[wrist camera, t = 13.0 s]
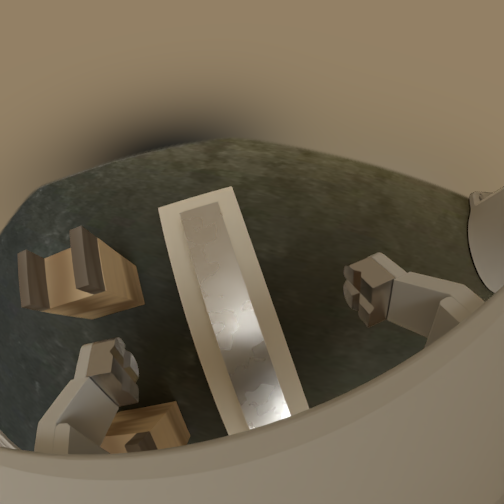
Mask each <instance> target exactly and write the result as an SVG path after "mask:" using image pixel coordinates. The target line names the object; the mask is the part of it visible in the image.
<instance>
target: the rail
mask: <svg viewBox="0 0 504 504" xmlns="http://www.w3.org/2000/svg"><path fill="white" fill-rule="evenodd" d="M180 216H181V220H182V224H183V228H184V232H185V236H186V239H187V243H188V247H189V250H190V254H191V258H192V261H193V265H194V268H195V272H196V275H197V279H198V282H199V285H200V289H201V292H202V295H203V299H204V302H205V305H206V308H207V311H208V315H209V318H210V321H211V324H212V327H213V330H214V333H215V336H216V339H217V342H218V345H219V348H220V351H221V354H222V357H223V360H224V362H225V365H226V368H227V371H228V374H229V376H230V379H231V382H232V385H233V387H234V390H235V393H236V395H237V398H238V401H239V403H240V406H241V409H242V411H243V414H244V416H245V419H246V421H247V424H248V426H249V429H254V428H257V427H260V426H263V425H266V424H269V423H272V422H275V421H278V420H281V419H284V418H287V417H289V416H291V415H290V412H289V409H288V407H287V404H286V401H285V398H284V395H283V393H282V390H281V387H280V384H279V381H278V379H277V376H276V373H275V370H274V367H273V364H272V362H271V359H270V356H269V353H268V350H267V347H266V344H265V342H264V339H263V336H262V333H261V330H260V327H259V324H258V321H257V318H256V315H255V312H254V309H253V307H252V304H251V301H250V298H249V295H248V292H247V289H246V286H245V283H244V280H243V277H242V274H241V271H240V268H239V265H238V262H237V259H236V256H235V253H234V250H233V247H232V244H231V241H230V237H229V234H228V231H227V228H226V225H225V222H224V219H223V216H222V213H221V210H220V207H219V203H218V202H214V203H211V204H207V205H204V206H201V207H197V208H194V209H191V210H187V211H184V212H181V213H180Z"/></svg>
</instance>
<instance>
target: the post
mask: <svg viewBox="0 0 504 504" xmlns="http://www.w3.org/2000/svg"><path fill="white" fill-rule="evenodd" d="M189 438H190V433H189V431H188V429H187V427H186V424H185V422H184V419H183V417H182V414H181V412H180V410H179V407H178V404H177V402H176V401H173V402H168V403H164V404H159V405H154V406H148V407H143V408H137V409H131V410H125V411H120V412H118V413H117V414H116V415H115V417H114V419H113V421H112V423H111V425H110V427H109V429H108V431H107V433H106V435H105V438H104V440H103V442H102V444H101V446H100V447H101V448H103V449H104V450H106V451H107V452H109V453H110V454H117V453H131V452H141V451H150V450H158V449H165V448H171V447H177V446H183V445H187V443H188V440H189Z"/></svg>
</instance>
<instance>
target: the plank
mask: <svg viewBox="0 0 504 504" xmlns="http://www.w3.org/2000/svg"><path fill="white" fill-rule="evenodd" d="M214 202H218V203H219V207H220V210H221V213H222V216H223V219H224V222H225V225H226V228H227V231H228V234H229V237H230V241H231V244H232V247H233V250H234V253H235V256H236V259H237V262H238V265H239V268H240V271H241V274H242V277H243V280H244V283H245V286H246V289H247V292H248V295H249V298H250V301H251V304H252V307H253V309H254V312H255V315H256V318H257V321H258V324H259V327H260V330H261V333H262V336H263V339H264V342H265V344H266V347H267V350H268V353H269V356H270V359H271V362H272V364H273V367H274V370H275V373H276V376H277V379H278V381H279V384H280V387H281V390H282V393H283V395H284V398H285V401H286V404H287V407H288V409H289V412H290V415H291V416H292V415H295V414H297V413H300V412H303V411H305V410H308V409H309V407H308V404H307V401H306V398H305V395H304V392H303V389H302V386H301V383H300V380H299V378H298V375H297V372H296V369H295V366H294V363H293V360H292V357H291V354H290V352H289V349H288V346H287V343H286V340H285V337H284V334H283V331H282V329H281V326H280V323H279V320H278V317H277V314H276V311H275V308H274V306H273V303H272V300H271V297H270V294H269V291H268V288H267V285H266V283H265V280H264V277H263V274H262V271H261V268H260V265H259V263H258V260H257V257H256V254H255V251H254V248H253V245H252V243H251V240H250V237H249V234H248V231H247V228H246V225H245V223H244V220H243V217H242V214H241V211H240V208H239V205H238V203H237V200H236V197H235V194H234V191H233V188H232V186H231V187H227V188H223V189H220V190H216V191H213V192H209V193H206V194H202V195H199V196H195V197H192V198H189V199H185V200H182V201H179V202H175V203H172V204H169V205H166V206H163V207H160V208H158V210H159V215H160V220H161V224H162V229H163V233H164V237H165V241H166V246H167V250H168V254H169V258H170V262H171V266H172V269H173V273H174V277H175V281H176V284H177V288H178V292H179V295H180V299H181V302H182V305H183V309H184V312H185V315H186V319H187V322H188V325H189V328H190V332H191V335H192V338H193V341H194V344H195V347H196V350H197V353H198V356H199V359H200V362H201V365H202V368H203V370H204V373H205V376H206V379H207V382H208V384H209V387H210V390H211V392H212V395H213V398H214V400H215V403H216V405H217V408H218V410H219V413H220V415H221V418H222V420H223V423H224V425H225V428H226V430H227V432H228V435H232V434H236V433H240V432H243V431H247V430H250V429H249V426H248V424H247V421H246V419H245V416H244V414H243V411H242V409H241V406H240V403H239V401H238V398H237V395H236V393H235V390H234V387H233V385H232V382H231V379H230V376H229V374H228V371H227V368H226V365H225V362H224V360H223V357H222V354H221V351H220V348H219V345H218V342H217V339H216V336H215V333H214V330H213V327H212V324H211V321H210V318H209V315H208V311H207V308H206V305H205V302H204V299H203V295H202V292H201V289H200V285H199V282H198V279H197V275H196V272H195V268H194V265H193V261H192V258H191V254H190V250H189V247H188V243H187V239H186V236H185V232H184V228H183V224H182V220H181V216H180V213H181V212H184V211H187V210H191V209H194V208H197V207H201V206H204V205H207V204H211V203H214Z"/></svg>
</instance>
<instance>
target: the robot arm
mask: <svg viewBox="0 0 504 504" xmlns="http://www.w3.org/2000/svg"><path fill="white" fill-rule="evenodd" d="M469 198H470V207H471V212H470V217H469V222H468V238H469V245H470V250H471V254H472V258H473V261H474V264H475V267H476V269H477V272H478V274H479V276H480V278H481V279H482V281H483V282H484V284H485V285H486V286H487V288H488V289H489V290H491V291H492V292H494V293H495V294H494V295H493V296H492V297H490V298H489V299H488V300H487V301H486V302H484V301H483V300H482V299H481V298H480V297H478V296H477V295H476V294H475V293H474V292H472V291H471V290H470V289H469V288H467V287H466V286H465V285H463V284H459V283H455V282H451V281H447V280H443V279H439V278H435V277H431V276H426V275H422V274H418V273H414V272H408V273H407V272H405V271H404V270H403V269H402V268H400V267H399V266H398V265H397V264H395V263H394V262H393V261H392V260H390V259H389V258H388V257H386V256H385V255H384V254H383V253H379V252H378V253H376V254H373V255H371V256H368V257H367V258H364V259H362V260H359V261H356V262H354V263H351V264H349V265H346V266H345V267H344V277H345V278H346V279H347V280H346V282H345V284H344V285H343V289H344V296H345V299H346V301H347V303H348V305H349V306H350V307H351V308H352V309H354V310H357V311H359V312H358V317H359V318H360V319H361V320H362V321H363V322H364V324H365V325H366V326H367V327H371V326H373V325H375V324H377V323H379V322H382V321H384V320H386V319H387V320H388V321H390V322H392V323H395V324H397V325H399V326H402V327H404V328H406V329H408V330H411V331H413V332H415V333H418V334H420V335H422V336H424V337H427V338H428V339H427V341H426V344H425V347H424V349H423V350H421V351H420V352H418V353H417V354H415V355H413V356H412V357H410V358H409V359H407V360H405V361H404V362H402V363H400V364H399V365H397V366H395V367H394V368H392V369H390V370H389V371H387V372H385V373H383V374H381V375H380V376H378V377H376V378H374V379H372V380H370V381H368V382H366V383H365V384H363V385H361V386H359V387H357V388H355V389H353V390H351V391H348V392H346V393H344V394H342V395H340V396H338V397H336V398H333V399H331V400H329V401H327V402H324V403H322V404H320V405H317V406H315V407H313V408H310V409H308V410H305V411H303V412H300V413H297V414H295V415H292V416H289V417H287V418H284V419H281V420H278V421H275V422H272V423H269V424H266V425H263V426H260V427H257V428H254V429H250V430H247V431H243V432H240V433H236V434H232V435H229V436H225V437H221V438H217V439H212V440H208V441H203V442H199V443H194V444H189V445H183V446H177V447H171V448H165V449H158V450H150V451H141V452H131V453H117V454H110V453H109V452H107V451H106V450H104V449H103V448H101V447H100V446H101V444H102V442H103V440H104V438H105V435H106V433H107V431H108V429H109V427H110V425H111V423H112V421H113V419H114V417H115V415H116V413H117V411H118V409H119V406H124V405H129V404H134V403H139V387H138V386H137V385H136V384H135V382H136V381H137V379H138V378H139V370H138V366H137V362H136V360H135V358H134V356H133V355H132V354H131V353H130V352H128V351H126V350H125V344H124V342H123V341H122V340H121V338H118V337H116V338H112V339H107V340H103V341H98V342H94V343H90V344H85V345H83V346H82V347H81V350H80V354H79V358H78V363H77V367H76V372H75V377H74V380H70V382H69V383H68V384H67V386H66V387H65V388H64V389H63V391H62V392H61V393H60V395H59V396H58V397H57V398H56V400H55V401H54V402H53V404H52V405H51V406H50V408H49V409H48V410H47V412H46V413H45V415H44V416H43V417H42V419H41V420H40V421H39V423H38V428H37V435H36V442H35V449H34V452H33V451H25V450H18V449H11V448H6V447H0V504H504V187H502V188H500V189H499V190H497V191H496V192H494V193H488V192H473V193H471V194H470V197H469Z"/></svg>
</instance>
